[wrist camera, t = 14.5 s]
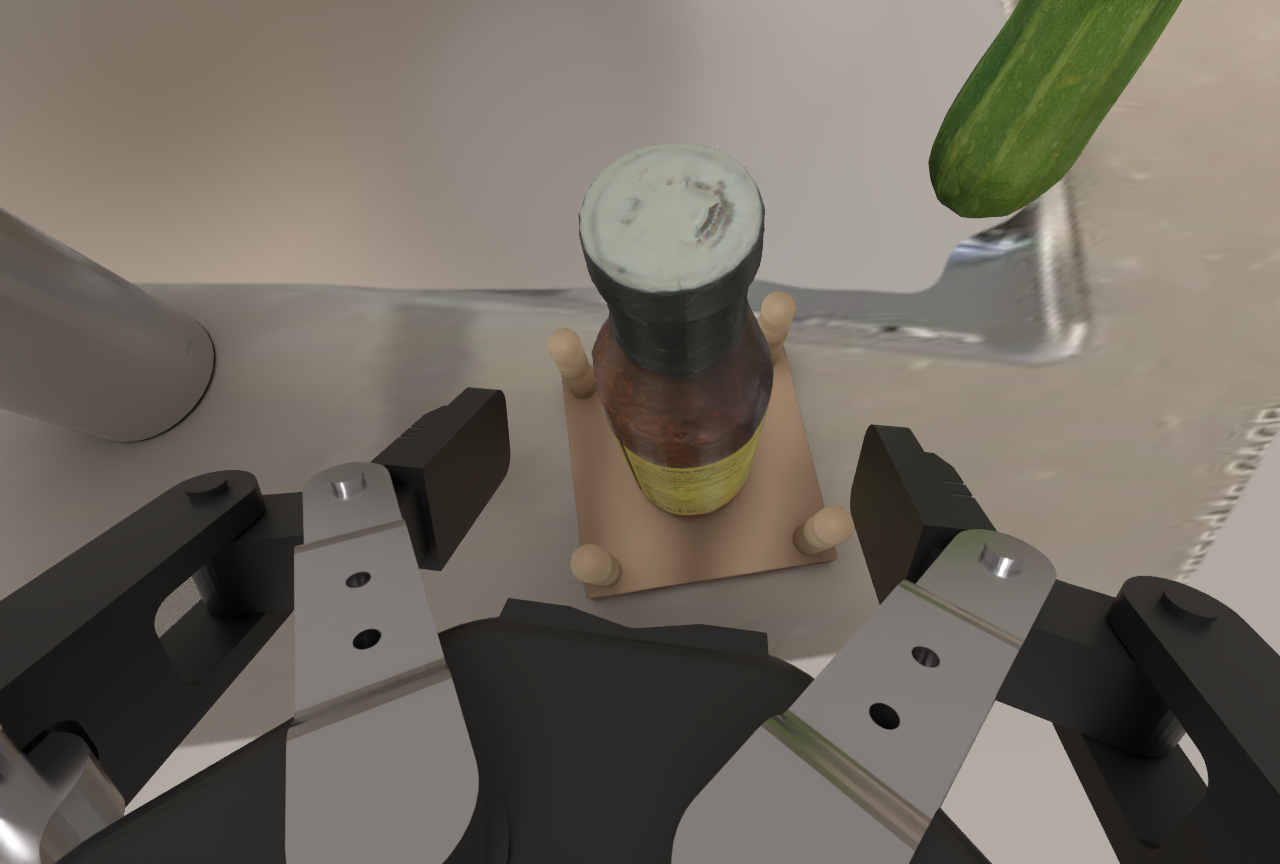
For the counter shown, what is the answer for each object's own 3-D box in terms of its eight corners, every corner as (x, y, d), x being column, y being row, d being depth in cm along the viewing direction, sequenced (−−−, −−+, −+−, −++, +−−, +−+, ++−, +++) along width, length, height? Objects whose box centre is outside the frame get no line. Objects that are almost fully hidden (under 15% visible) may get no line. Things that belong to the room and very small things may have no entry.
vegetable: (900, 226, 35) (1146, -214, 16) (920, 139, 37) (1162, -346, 18) (1021, 251, 34) (1439, -192, 15) (1036, 160, 36) (1424, -336, 17)
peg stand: (591, 598, 30) (564, 596, 23) (566, 380, 34) (537, 325, 27) (830, 561, 30) (871, 548, 23) (776, 344, 34) (798, 280, 27)
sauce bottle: (770, 474, 30) (915, 243, 11) (678, 545, 29) (662, 428, 10) (695, 386, 32) (707, 58, 13) (606, 450, 31) (481, 202, 12)
